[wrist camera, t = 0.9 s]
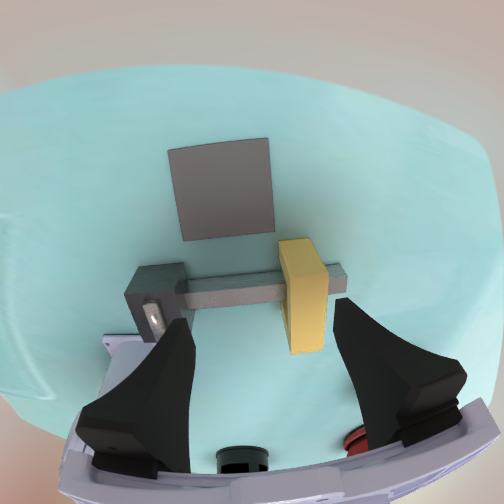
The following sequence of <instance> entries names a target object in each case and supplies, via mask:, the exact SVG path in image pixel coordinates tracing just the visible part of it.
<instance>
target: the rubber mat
mask: <svg viewBox="0 0 504 504" xmlns="http://www.w3.org/2000/svg"><path fill="white" fill-rule="evenodd" d="M168 158H169V164H170V171H171V177H172V183H173V189H174V194H175V200H176V205H177V211H178V216H179V221H180V226H181V232H182V236H183V241H193V240H201V239H210V238H219V237H229V236H238V235H248V234H257V233H267V232H275V225H274V209H273V195H272V181H271V167H270V154H269V142H268V138H260V139H249V140H239V141H229V142H221V143H213V144H205V145H198V146H192V147H185V148H179V149H173V150H168Z"/></svg>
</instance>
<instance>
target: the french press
mask: <svg viewBox="0 0 504 504" xmlns="http://www.w3.org/2000/svg"><path fill="white" fill-rule="evenodd" d="M216 458H217V474H237V473H254V472H265V471H268V469H269V468H268V452H267V450H265V449H263V448H260V447H254V446H233V447H227V448H224V449H221V450H219V451H218V452H217V453H216Z"/></svg>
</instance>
